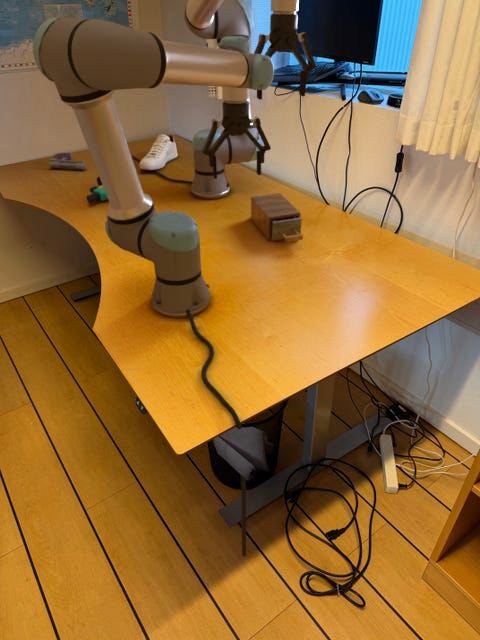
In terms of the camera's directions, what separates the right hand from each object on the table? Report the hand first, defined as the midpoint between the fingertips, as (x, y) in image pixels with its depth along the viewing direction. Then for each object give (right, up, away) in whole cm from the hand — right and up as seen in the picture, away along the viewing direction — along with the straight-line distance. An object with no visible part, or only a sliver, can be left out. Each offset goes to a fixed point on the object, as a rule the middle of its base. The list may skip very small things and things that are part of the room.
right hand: (280, 97), depth 142 cm
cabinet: (-1, -35, +20) cm, 40 cm away
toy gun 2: (-66, -17, +46) cm, 82 cm away
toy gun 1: (-90, +4, +75) cm, 117 cm away
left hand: (-13, -23, +3) cm, 26 cm away
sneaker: (-50, +4, +75) cm, 90 cm away
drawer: (+1, -38, +15) cm, 40 cm away
